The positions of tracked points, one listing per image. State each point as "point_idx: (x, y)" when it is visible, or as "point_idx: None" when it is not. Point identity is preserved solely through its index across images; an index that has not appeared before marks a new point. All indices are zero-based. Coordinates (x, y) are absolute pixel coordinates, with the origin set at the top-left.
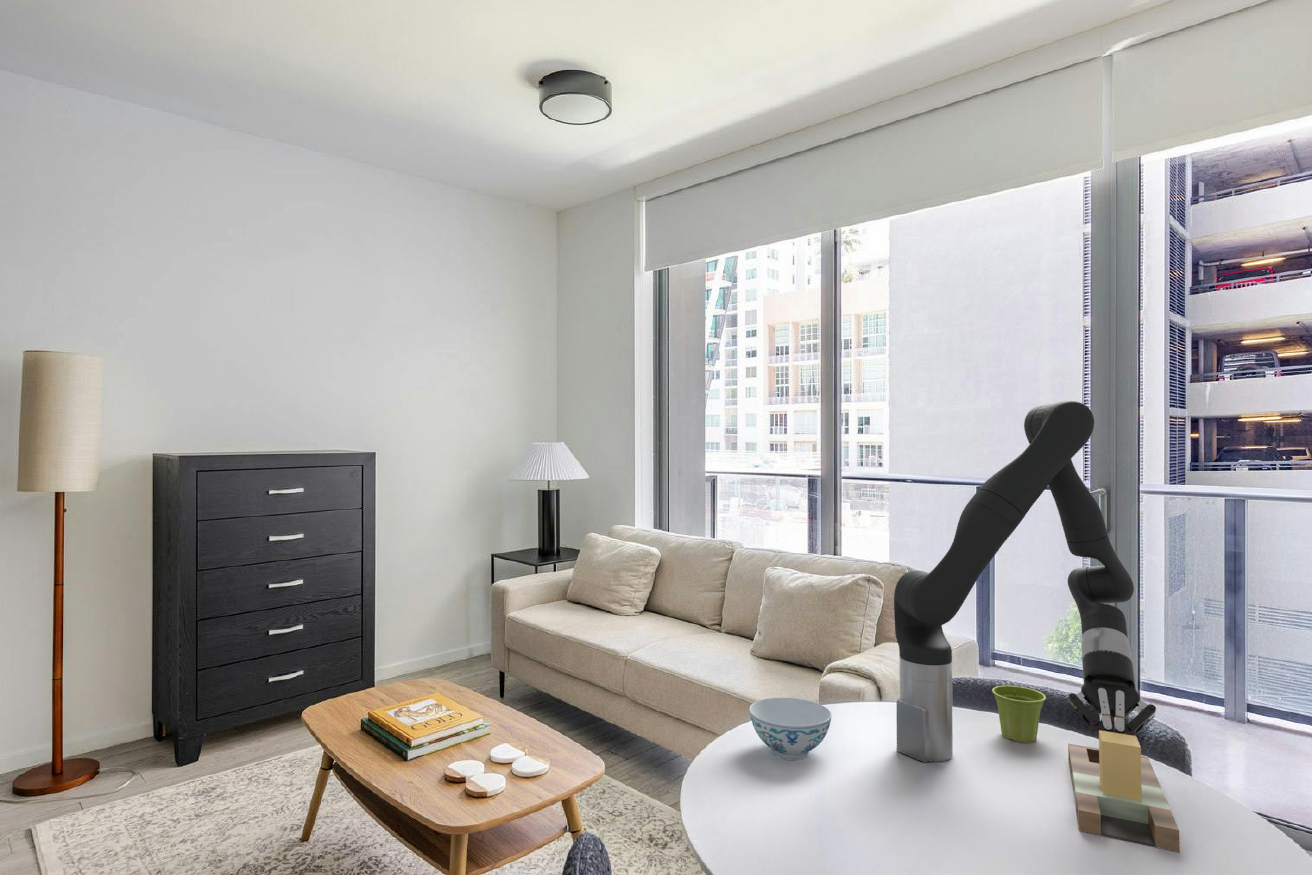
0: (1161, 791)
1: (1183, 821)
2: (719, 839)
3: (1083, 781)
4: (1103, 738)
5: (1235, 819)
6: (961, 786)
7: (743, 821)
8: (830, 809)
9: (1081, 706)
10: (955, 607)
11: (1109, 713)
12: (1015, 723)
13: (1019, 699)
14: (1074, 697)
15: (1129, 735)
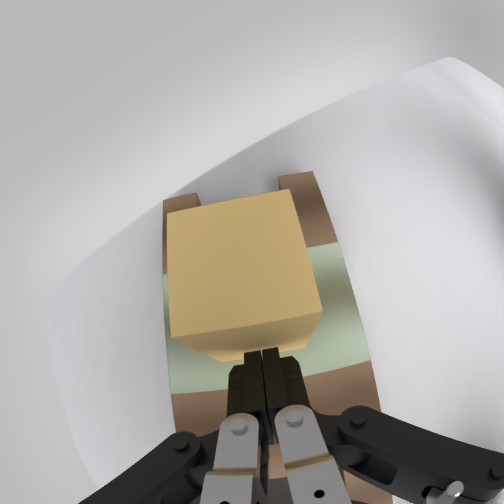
0: (171, 372)
1: (154, 347)
2: (472, 71)
3: (337, 313)
4: (289, 216)
5: (84, 405)
6: (484, 234)
7: (488, 88)
8: (488, 116)
9: (440, 450)
10: None
11: (288, 469)
12: None
13: None
14: (489, 470)
15: (195, 325)
